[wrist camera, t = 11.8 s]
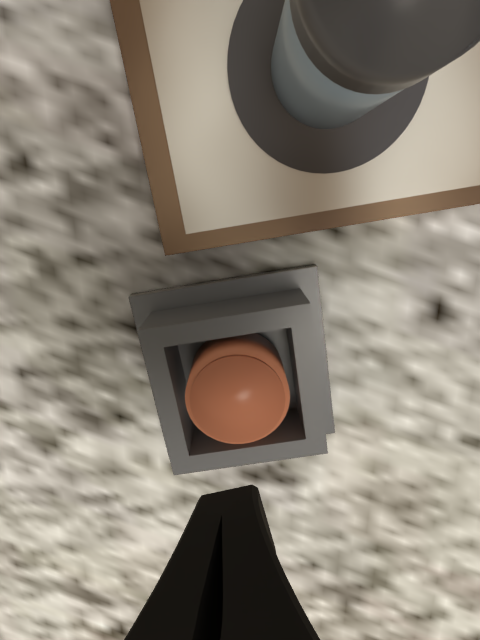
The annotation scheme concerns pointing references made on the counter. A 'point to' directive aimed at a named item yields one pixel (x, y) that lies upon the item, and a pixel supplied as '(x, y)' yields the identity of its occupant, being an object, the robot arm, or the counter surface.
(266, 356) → the button
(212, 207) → the cream rectangular board
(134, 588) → the counter surface
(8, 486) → the counter surface
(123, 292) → the counter surface
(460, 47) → the grey canister
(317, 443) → the button housing
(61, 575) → the counter surface
